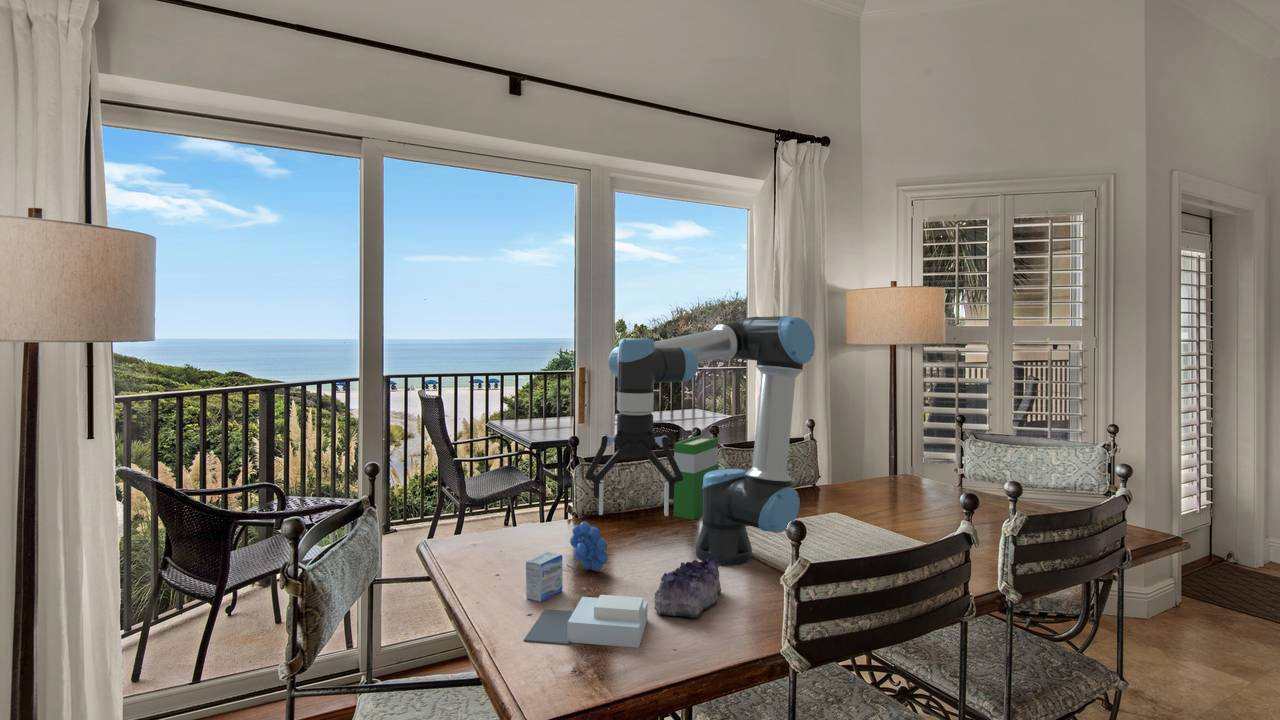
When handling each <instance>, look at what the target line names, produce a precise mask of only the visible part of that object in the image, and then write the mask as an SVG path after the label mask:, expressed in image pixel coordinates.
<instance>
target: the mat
mask: <svg viewBox="0 0 1280 720" xmlns="http://www.w3.org/2000/svg"><path fill="white" fill-rule="evenodd" d="M573 612H574V610H563V609H550V608H544V609H543V611H542V612H541V614H540V615H539V617H538V619H536V621H535V623H534V624H533V626H532V627H531V628H530V630H529V631H528V633H527V634H526V636H525V637H524V639H523V642H527V643H528V642H529V643H541V644H551V645H552V644H553V645H554V644H555V645H567V646H569V645H570V643H571V642H570V641H568V620H569V619H570V617H571V615H572V614H573Z"/></svg>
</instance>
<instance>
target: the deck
mask: <svg viewBox="0 0 1280 720" xmlns="http://www.w3.org/2000/svg"><path fill="white" fill-rule="evenodd" d="M598 598H599V597H591V596H581V598H580V600H579V601H578V603H577V605H576V607H575V609H574V610H573V611H574V612H573V614H572V615H571V617H570V619H569V620H568V641H570V643H573V644H584V645H585V644H587V645H598V646H610V647H612V646H613V647H623V648H634V649H639V648H640V645H641V642H642V639H643V635H644V633H645V628H646V626H647V622H648V608H649V607H648V605H649V604H648V600H647V601H646V600H643V609H642V612H641V615H640V618H639V620H628V619H615V618H602V617H594V606H595V604H596V602H597V600H598Z"/></svg>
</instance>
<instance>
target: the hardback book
mask: <svg viewBox="0 0 1280 720" xmlns="http://www.w3.org/2000/svg"><path fill="white" fill-rule="evenodd" d="M673 449H674V450H673V453H674V454H673V457H674V459H675V461H676V463H677V465H678V467H679V469H680V471H681V473H682V476H683V480H682V481H679V482H676V483H675V485H674V498H673V517H676V518H682V519H688V520H693V521H695V520H696V519H698V518H700V517H703V512H702V487H703V478H704V475H705V474H706V473H707V472H710V471H714V470H719V437H714V438H703V437H702V436H701V435H697V436H693V437H691V438H687V439H684V440H680V441H677V442H674V444H673ZM674 475H675V473H674V472H673V476H674Z"/></svg>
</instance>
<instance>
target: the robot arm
mask: <svg viewBox="0 0 1280 720" xmlns="http://www.w3.org/2000/svg"><path fill="white" fill-rule="evenodd" d="M815 343H816V340H815V336H814V333H813V330H812V328H811V326H810V324H809V322H807V321H806V320H805V319H804V318H801V317H800V316H789V315H783V316H782V315H780V316H778V315H777V316H751V317H750V316H749V317H746V318H741V319H737V320H734V321H731V322H726V323H723V324H722V323H721V324H717V325H716V326H714V327H713V329H711V330H707V331H701V332H696V333H691V334H685V335H680V336H676V337H671V338H667V339H666V338H665V339H662V340H655V341H654V339H653V338H636V337H634V338H630V337H628V338H627V337H625V338H622V339H620V340H619V341H618V346H616V347H614V348H613V349H612V351H611V352H610V353H609V356H608V368H609V371H610V372H611V373H612V374H613V375H614V376H615V377H617V392H616V393H617V396H616V397H617V399H616V400H617V401H616V402H617V403H616V408H617V411H618V414H617V415H616V434H615V436H612V435H608V434H605V433H604V434H603V435H602V436H601V443H600V447H599V448H598V450H597V452H596V455H595V456H594V458H593V460H592V462H591V464H590V465H589V468H588V469H587V472H586V474H585V475H584V476H585V477H584V478H585V480H587V481H591V482H593V498H595V499H598V516H603V515H604V500H605V499H604V495H605V494H604V492H605V491H604V489H605V487H604V486H605V485H604V482H605V480H603V478H604V477H605V476H606V475H607V474H608V473H609V471H610V470H611V469H612V468H613V467H614V466H615V465H616V463H617V462H618V461H619V460H620V459H621V458H622V457H623V456H624V457H625V458H628V459H629V458H630V459H631V458H637V459H642V458H644V457H647V459H648V460H649V462H651V463H652V464H653V465H654V467H655V468H656V469H657V470H658V472H659V473H660V474H661V475H662V476H663V477H664V479H665V480H666V481H664V497H663V498H664V499H663V500H664V504H663V505H664V508H663V512H664V517H669V502H670V501H669V500H674V485H675V483H676V482H679V481H682V480H683V476H682V473H681V471H680V469H679V467H678V465H677V463H676V461H675V459H674V454H673V452H672V451H671V449H670V446H669V439H668V435H666V434H665V435H664V434H663V435H662V436H656V437H655V436H654V415H653V413H651V412H653V411H654V401H655V400H654V397H655V395H654V392H655V384H656V383H657V384H658V383H682V382H688V381H691V380H692V379H694V378H695V376H696V374H697V372H698V365H699V364H701V363H705V362H710V361H713V360H717V359H719V360H721V361H730V360H745V361H747V360H748V361H756V365H755V366H756V368H757V370H758V371H759V372H760V374H761V377H760V386H759V397H758V407H757V417H756V426H755V434H754V435H755V436H754V445H753V456H752V457H753V458H752V466H751V468H750V469H748V470H745V469H739V468H726V469H725V468H724V469H718V470H714V471H710V472H707V473H706V474H705V475H704V478H703V487H702V512H703V515H702V526H701V528H700V532H699V534H698V538H697V541H696V544H695V556H696V557H697V558H698V559H699V560H702V561H705V559H708V557H710V558H711V559H712V560H714V559H715V558H716V559H717V560H718V563H719V565H724V566H725V565H726V566H727V565H728V566H730V565H733V566H734V565H740V564H744V563H747V562H749V561H750V560H752V558H753V549H752V548H753V547H752V544H751V540H750V538H749V534H748V531H747V527H746V526H750V527H753V528H756V529H758V530H759V529H760V530H761V531H763V532H771V533H775V534H776V533H777V534H779V533H783V532H785V531H786V530H787V529H786V528H787V525H788V523H789V522H790V521H793V520H794V521H795V520H796V518H797V516H798V513H799V509H800V505H801V504H800V503H801V502H800V496H799V493H798V491H797V490H796V489H794V487H793V488H792V483H793V479H792V477H791V476H790V475H789V474H788V471H787V470H788V460H789V459H788V458H789V451H790V450H789V448H790V439H791V430H792V429H791V428H792V418H793V409H794V407H793V406H794V400H795V399H794V398H795V389H796V388H795V387H796V378H797V377H798V376H799V375H800V374H802V372H803V369H804V364H806V363H808V362H810V361H811V359H812V357H813V356H814V354H815V349H816V344H815ZM612 443H614V444H615V445H616V446H617V448H618V449H617V450H616V451H615V453H614V454H613V455H612V456H611V457H610V458H609V460H608V461H607V462H606V463H605V464H604V465H603V467H602V468H601V469H600V470H599V471H598V472H597V473H596V474H595V471H596V469H597V467H598V466H599V464H600V462H601V459H602V458H603V456H604V454H605V452H606V450H607V447H610V446H611V445H612ZM655 443H657V445H658V447H659V448H662V449H663V453H664V455H665V457H666V458H667V460H668V462H669V465H670V467H671V469H672V471H673V475H672V474H671V473H670V471H669V470H668V469H667V467H665V465H664V464H663V463H662V462H661V460H660V459H659V458H658V456H656V454H655V453H654V451H653V450H652V448H653V447H654V445H655ZM674 473H675V475H674Z"/></svg>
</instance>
